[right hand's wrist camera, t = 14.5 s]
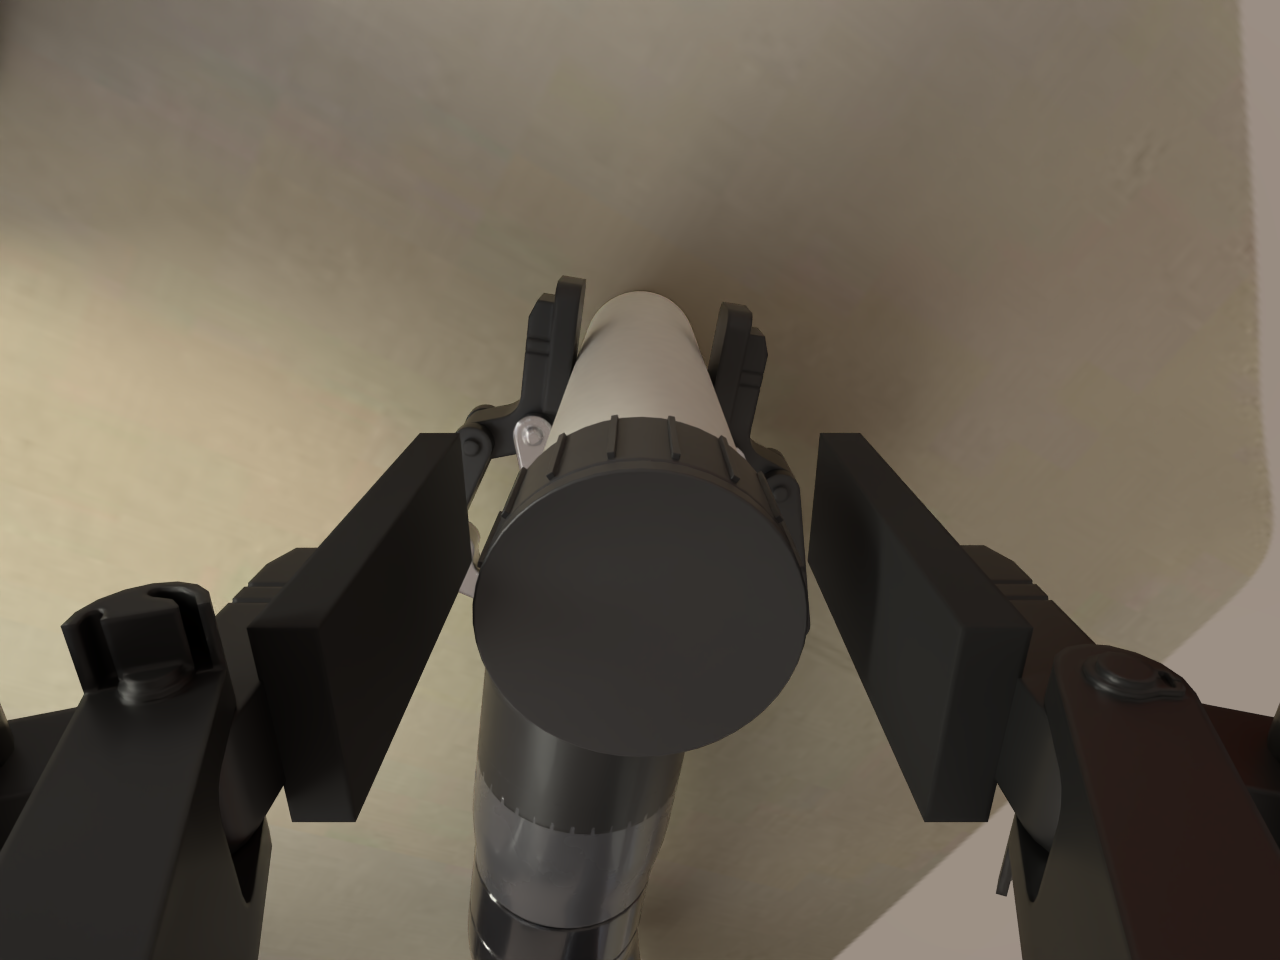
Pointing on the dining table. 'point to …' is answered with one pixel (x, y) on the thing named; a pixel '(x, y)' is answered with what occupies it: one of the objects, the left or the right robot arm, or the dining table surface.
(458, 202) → the dining table surface
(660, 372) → the bottle
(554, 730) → the lid
